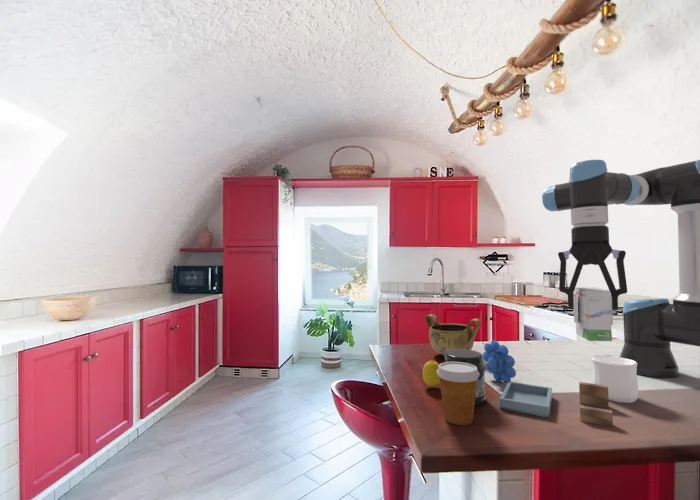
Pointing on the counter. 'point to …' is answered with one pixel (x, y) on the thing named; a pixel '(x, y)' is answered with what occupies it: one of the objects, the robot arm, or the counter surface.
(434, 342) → the ceramic bowl
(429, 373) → the lemon
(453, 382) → the disposable coffee cup
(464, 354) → the supplement container
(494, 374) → the grapes
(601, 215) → the robot arm
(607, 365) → the cup
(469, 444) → the counter surface
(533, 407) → the tray
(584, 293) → the ink box
